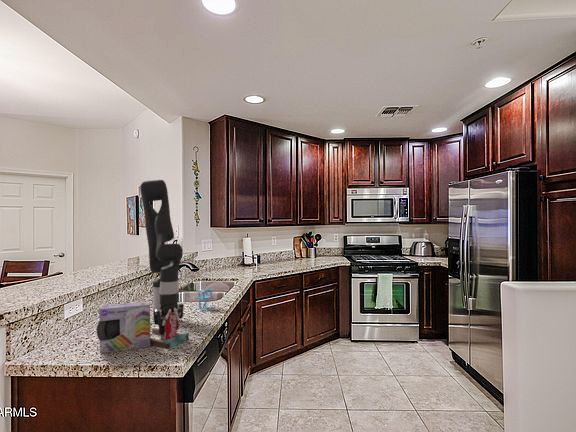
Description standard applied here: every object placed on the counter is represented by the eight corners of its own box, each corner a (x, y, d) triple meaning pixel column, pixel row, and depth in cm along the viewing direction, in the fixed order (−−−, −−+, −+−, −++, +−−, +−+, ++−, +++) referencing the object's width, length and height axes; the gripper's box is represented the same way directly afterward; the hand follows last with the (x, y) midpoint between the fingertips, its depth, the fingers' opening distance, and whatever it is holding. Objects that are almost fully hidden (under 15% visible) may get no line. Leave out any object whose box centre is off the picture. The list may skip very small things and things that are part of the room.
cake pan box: (96, 353, 132) (96, 307, 132) (98, 348, 137) (99, 304, 136) (150, 348, 138) (150, 304, 138) (150, 343, 143) (151, 300, 143)
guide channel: (154, 332, 157) (154, 325, 157) (188, 340, 146) (188, 332, 146) (132, 340, 147) (132, 333, 147) (167, 348, 136) (167, 341, 136)
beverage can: (178, 340, 146) (179, 311, 148) (173, 343, 140) (174, 312, 142) (163, 340, 146) (164, 311, 148) (158, 343, 140) (159, 312, 142)
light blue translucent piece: (207, 307, 204) (206, 286, 204) (215, 309, 198) (214, 288, 198) (195, 309, 198) (195, 288, 198) (203, 311, 192) (203, 290, 193)
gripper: (176, 288, 152) (176, 326, 152) (148, 294, 140) (148, 335, 139) (188, 289, 149) (188, 328, 148) (161, 295, 136) (161, 338, 136)
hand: (169, 331), depth 144 cm, fingers closed on beverage can, 6 cm apart
